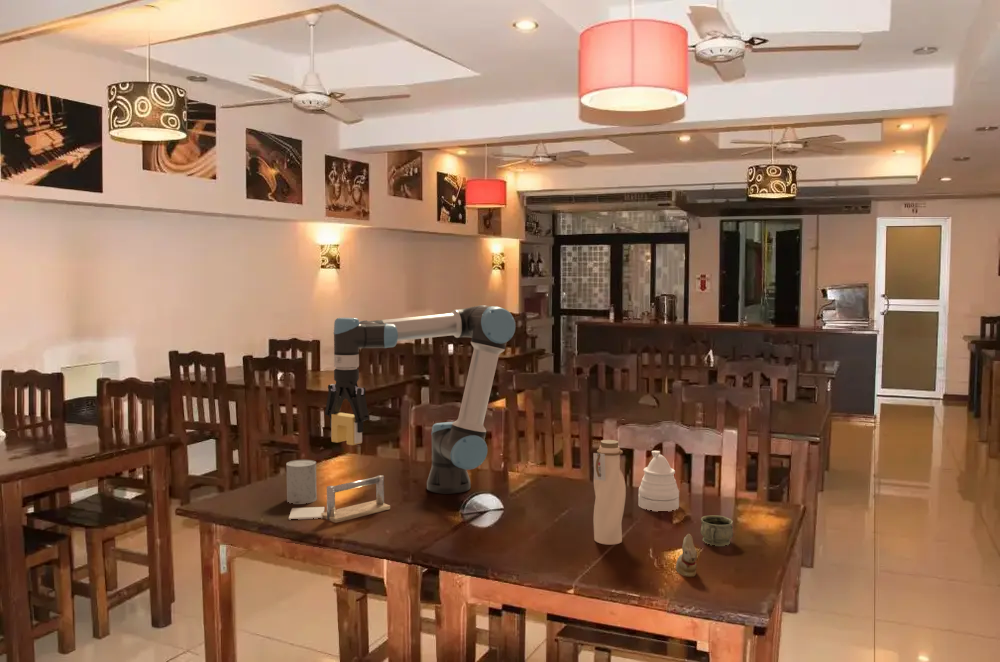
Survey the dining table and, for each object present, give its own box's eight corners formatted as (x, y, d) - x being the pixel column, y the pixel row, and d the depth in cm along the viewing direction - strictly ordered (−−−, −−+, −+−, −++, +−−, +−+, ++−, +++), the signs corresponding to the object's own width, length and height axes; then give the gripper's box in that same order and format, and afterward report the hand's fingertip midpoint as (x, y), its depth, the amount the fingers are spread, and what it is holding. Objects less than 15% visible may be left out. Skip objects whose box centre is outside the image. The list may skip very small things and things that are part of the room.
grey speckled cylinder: (299, 505, 253) (298, 468, 252) (280, 500, 259) (280, 463, 258) (322, 499, 260) (322, 462, 259) (304, 494, 266) (303, 458, 265)
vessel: (705, 533, 228) (706, 511, 228) (737, 538, 224) (737, 516, 223) (695, 545, 217) (695, 523, 217) (727, 551, 213) (728, 528, 213)
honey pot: (662, 514, 245) (663, 457, 244) (630, 505, 255) (630, 450, 254) (687, 506, 254) (688, 451, 253) (654, 497, 264) (655, 444, 262)
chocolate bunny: (672, 576, 196) (673, 536, 195) (677, 565, 203) (678, 527, 202) (695, 579, 194) (696, 539, 193) (699, 568, 201) (700, 529, 200)
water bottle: (614, 549, 214) (616, 447, 212) (584, 543, 219) (586, 443, 217) (629, 538, 223) (631, 440, 221) (600, 532, 228) (601, 437, 226)
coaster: (324, 508, 250) (324, 506, 250) (322, 518, 240) (322, 516, 240) (292, 510, 248) (292, 508, 248) (288, 519, 238) (288, 517, 238)
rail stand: (376, 503, 255) (375, 473, 255) (390, 509, 250) (390, 477, 249) (320, 517, 241) (320, 484, 241) (334, 523, 236) (334, 490, 235)
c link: (331, 441, 244) (331, 414, 244) (341, 439, 248) (340, 412, 247) (352, 445, 239) (352, 417, 239) (361, 443, 243) (361, 415, 242)
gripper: (312, 366, 245) (312, 438, 246) (363, 372, 233) (363, 447, 234) (330, 364, 251) (330, 434, 253) (381, 369, 239) (381, 443, 240)
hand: (346, 440), depth 243 cm, fingers closed on c link, 9 cm apart
